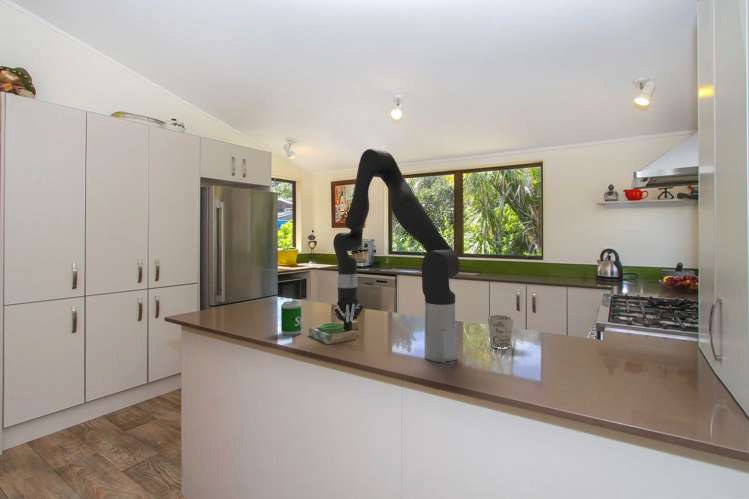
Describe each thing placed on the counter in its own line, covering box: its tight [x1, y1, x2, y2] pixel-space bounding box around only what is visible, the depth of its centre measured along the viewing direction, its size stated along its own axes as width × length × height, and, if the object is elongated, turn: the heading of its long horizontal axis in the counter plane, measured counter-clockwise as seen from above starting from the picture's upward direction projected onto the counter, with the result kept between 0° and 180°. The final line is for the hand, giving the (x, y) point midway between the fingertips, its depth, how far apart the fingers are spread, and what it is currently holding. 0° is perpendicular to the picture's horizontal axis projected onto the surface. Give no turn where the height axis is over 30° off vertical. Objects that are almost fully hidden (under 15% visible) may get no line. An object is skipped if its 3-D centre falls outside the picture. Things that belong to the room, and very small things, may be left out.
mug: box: [487, 314, 514, 348], centre depth 138 cm, size 8×13×10 cm, turn 152°
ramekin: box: [318, 322, 344, 334], centre depth 148 cm, size 9×9×4 cm
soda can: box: [280, 300, 303, 337], centre depth 153 cm, size 8×8×12 cm
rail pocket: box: [308, 320, 359, 345], centre depth 150 cm, size 14×20×3 cm
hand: (348, 331), depth 152 cm, fingers closed
